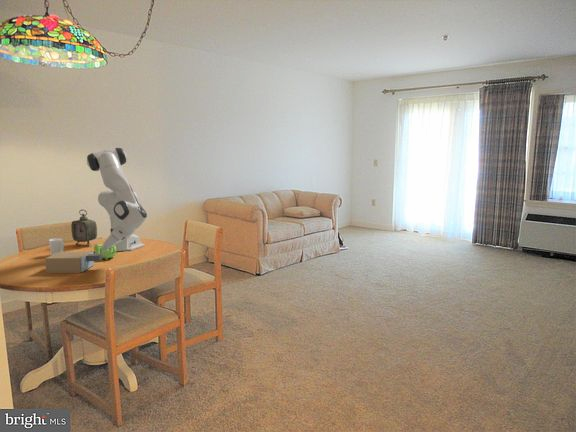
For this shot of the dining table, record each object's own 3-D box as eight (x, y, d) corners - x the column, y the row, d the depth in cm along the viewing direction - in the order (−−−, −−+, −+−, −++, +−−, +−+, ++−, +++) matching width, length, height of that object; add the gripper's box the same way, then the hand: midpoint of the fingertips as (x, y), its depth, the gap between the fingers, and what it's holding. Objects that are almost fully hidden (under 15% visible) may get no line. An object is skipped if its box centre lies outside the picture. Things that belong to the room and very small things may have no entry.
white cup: (63, 256, 250) (61, 240, 249) (48, 257, 248) (47, 241, 247) (66, 253, 258) (64, 237, 256) (52, 254, 256) (50, 238, 254)
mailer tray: (106, 264, 231) (105, 251, 230) (96, 271, 217) (95, 258, 216) (61, 264, 230) (60, 251, 229) (48, 272, 216) (47, 258, 215)
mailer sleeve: (92, 265, 231) (91, 251, 229) (80, 272, 217) (79, 258, 215) (60, 265, 230) (58, 251, 229) (46, 272, 216) (45, 258, 215)
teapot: (117, 259, 244) (116, 243, 242) (96, 261, 238) (95, 245, 237) (114, 255, 254) (113, 239, 252) (94, 257, 248) (93, 241, 247)
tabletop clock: (72, 245, 278) (69, 209, 274) (83, 243, 286) (81, 208, 282) (88, 247, 273) (85, 211, 269) (99, 244, 281) (96, 209, 277)
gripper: (125, 224, 231) (109, 241, 232) (111, 231, 211) (93, 249, 212) (133, 231, 232) (117, 248, 233) (120, 239, 212) (103, 257, 213)
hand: (106, 249), depth 222 cm, fingers open, 8 cm apart
